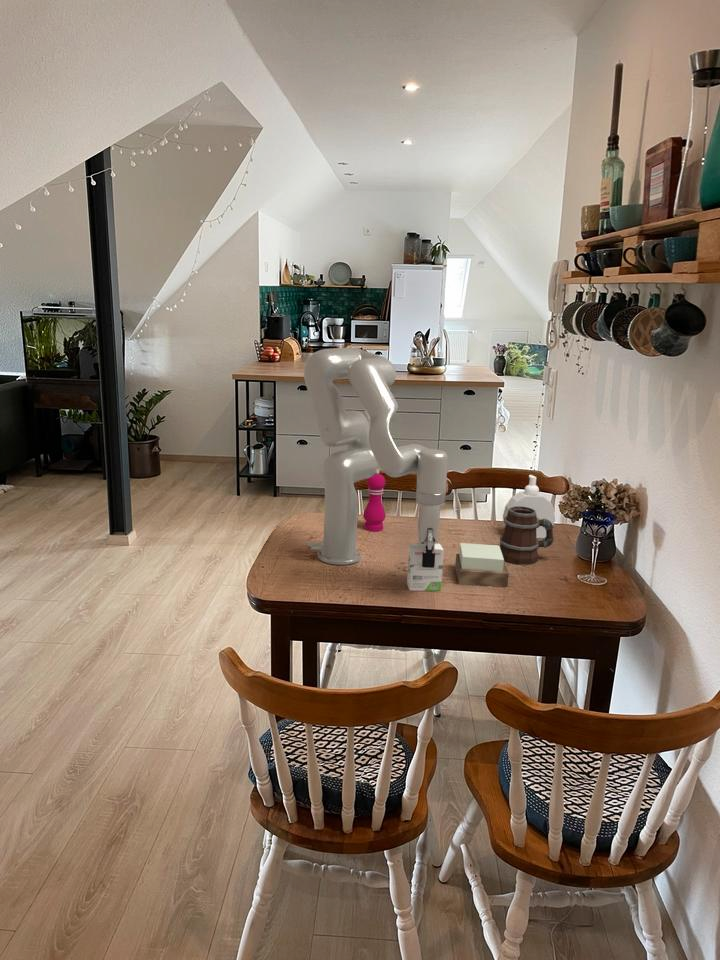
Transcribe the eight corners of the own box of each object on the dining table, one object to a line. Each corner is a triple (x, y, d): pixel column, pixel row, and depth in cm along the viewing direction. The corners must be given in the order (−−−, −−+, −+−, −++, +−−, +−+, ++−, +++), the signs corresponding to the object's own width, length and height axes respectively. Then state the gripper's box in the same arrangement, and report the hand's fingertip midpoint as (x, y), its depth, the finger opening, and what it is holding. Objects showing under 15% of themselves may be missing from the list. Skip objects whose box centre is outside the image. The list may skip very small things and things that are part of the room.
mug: (498, 562, 216) (503, 514, 212) (497, 548, 227) (502, 502, 223) (553, 568, 214) (559, 519, 210) (549, 553, 225) (555, 507, 221)
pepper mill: (361, 530, 238) (363, 471, 233) (364, 524, 245) (367, 465, 239) (383, 533, 237) (386, 472, 231) (386, 526, 244) (389, 467, 238)
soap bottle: (547, 533, 244) (553, 475, 239) (553, 538, 239) (560, 479, 234) (500, 533, 242) (506, 474, 237) (505, 538, 237) (511, 478, 232)
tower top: (461, 569, 199) (462, 556, 198) (459, 554, 209) (460, 542, 208) (502, 571, 198) (504, 559, 197) (498, 557, 209) (499, 545, 208)
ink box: (437, 584, 198) (441, 542, 195) (441, 591, 194) (444, 549, 191) (406, 583, 198) (409, 542, 195) (408, 591, 193) (411, 548, 190)
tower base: (458, 586, 199) (460, 570, 198) (455, 568, 211) (456, 553, 210) (507, 589, 198) (508, 573, 197) (500, 571, 211) (502, 556, 210)
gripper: (415, 488, 198) (412, 548, 202) (416, 506, 181) (413, 571, 185) (443, 489, 197) (440, 550, 201) (447, 507, 181) (443, 573, 185)
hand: (427, 560), depth 193 cm, fingers open, 9 cm apart
